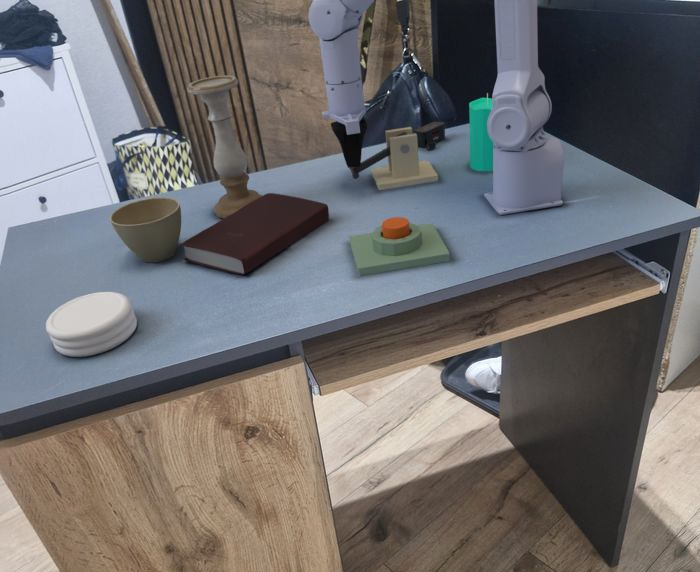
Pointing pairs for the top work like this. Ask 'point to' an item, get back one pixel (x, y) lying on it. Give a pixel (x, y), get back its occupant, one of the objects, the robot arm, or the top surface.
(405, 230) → the button
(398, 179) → the stand
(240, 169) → the candle holder
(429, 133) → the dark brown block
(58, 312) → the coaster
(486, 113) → the candle
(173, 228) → the flower pot
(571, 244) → the top surface
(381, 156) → the lever
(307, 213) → the book
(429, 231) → the panel
